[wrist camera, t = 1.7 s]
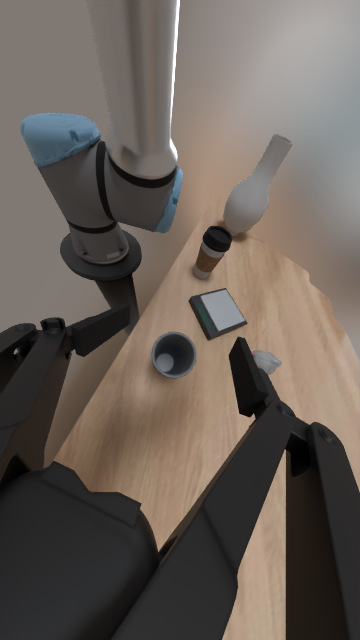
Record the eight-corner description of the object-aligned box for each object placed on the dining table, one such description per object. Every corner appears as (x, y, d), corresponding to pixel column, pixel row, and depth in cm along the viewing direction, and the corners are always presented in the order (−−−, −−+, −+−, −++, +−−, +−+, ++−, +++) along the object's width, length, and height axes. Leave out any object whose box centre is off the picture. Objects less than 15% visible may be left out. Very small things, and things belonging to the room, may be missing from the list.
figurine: (244, 347, 39) (265, 341, 32) (264, 358, 39) (290, 354, 32) (239, 367, 36) (261, 365, 29) (261, 379, 36) (288, 380, 29)
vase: (219, 217, 67) (261, 122, 42) (247, 230, 68) (304, 145, 43) (212, 233, 60) (257, 130, 35) (243, 248, 60) (310, 157, 35)
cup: (160, 344, 34) (166, 324, 21) (182, 357, 34) (203, 345, 20) (145, 368, 31) (142, 362, 18) (169, 382, 31) (184, 387, 17)
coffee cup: (185, 272, 46) (200, 230, 33) (197, 261, 50) (215, 219, 37) (204, 285, 46) (226, 248, 32) (215, 273, 49) (239, 235, 36)
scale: (188, 301, 42) (191, 295, 39) (222, 292, 46) (227, 286, 43) (207, 340, 37) (212, 337, 34) (242, 326, 42) (249, 322, 39)
